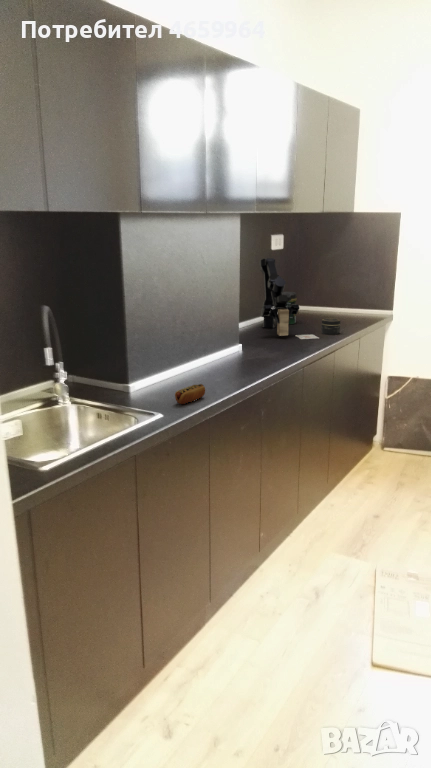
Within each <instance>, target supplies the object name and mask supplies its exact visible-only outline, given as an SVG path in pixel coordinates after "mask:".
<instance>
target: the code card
mask: <svg viewBox="0 0 431 768" xmlns="http://www.w3.org/2000/svg"><path fill="white" fill-rule="evenodd" d="M295 337H297V338H299V339H300V340H309V339H319V337H318V336H317V335H315V334H296V335H295Z"/></svg>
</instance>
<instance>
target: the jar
mask: <svg viewBox="0 0 431 768" xmlns="http://www.w3.org/2000/svg"><path fill="white" fill-rule="evenodd" d="M320 324H321V328H320V329H321V334H323V335H329V336H333V335H339V334H340V332H341V319H338V318H333V317H332V318H329V317H328V318H327V317H326V318H323V319H321V323H320Z"/></svg>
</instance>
